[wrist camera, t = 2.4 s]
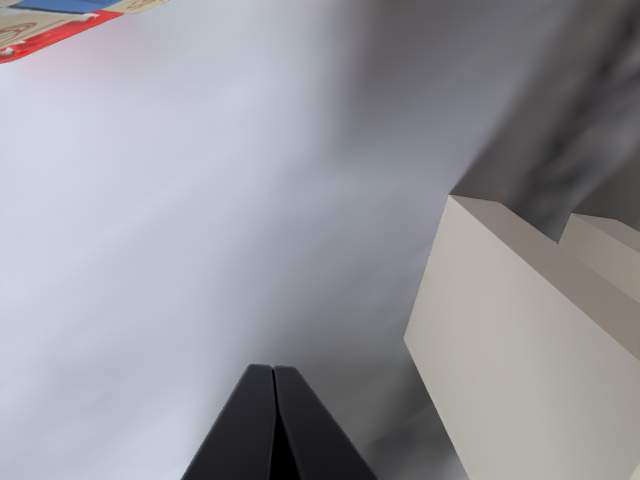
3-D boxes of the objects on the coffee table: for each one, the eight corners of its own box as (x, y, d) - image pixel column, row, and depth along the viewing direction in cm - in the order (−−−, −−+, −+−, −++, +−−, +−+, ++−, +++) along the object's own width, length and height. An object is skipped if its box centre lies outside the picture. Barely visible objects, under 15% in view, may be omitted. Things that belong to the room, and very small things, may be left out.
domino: (448, 342, 15) (617, 620, 8) (403, 338, 15) (537, 623, 8) (499, 202, 13) (778, 404, 6) (448, 194, 13) (681, 398, 6)
